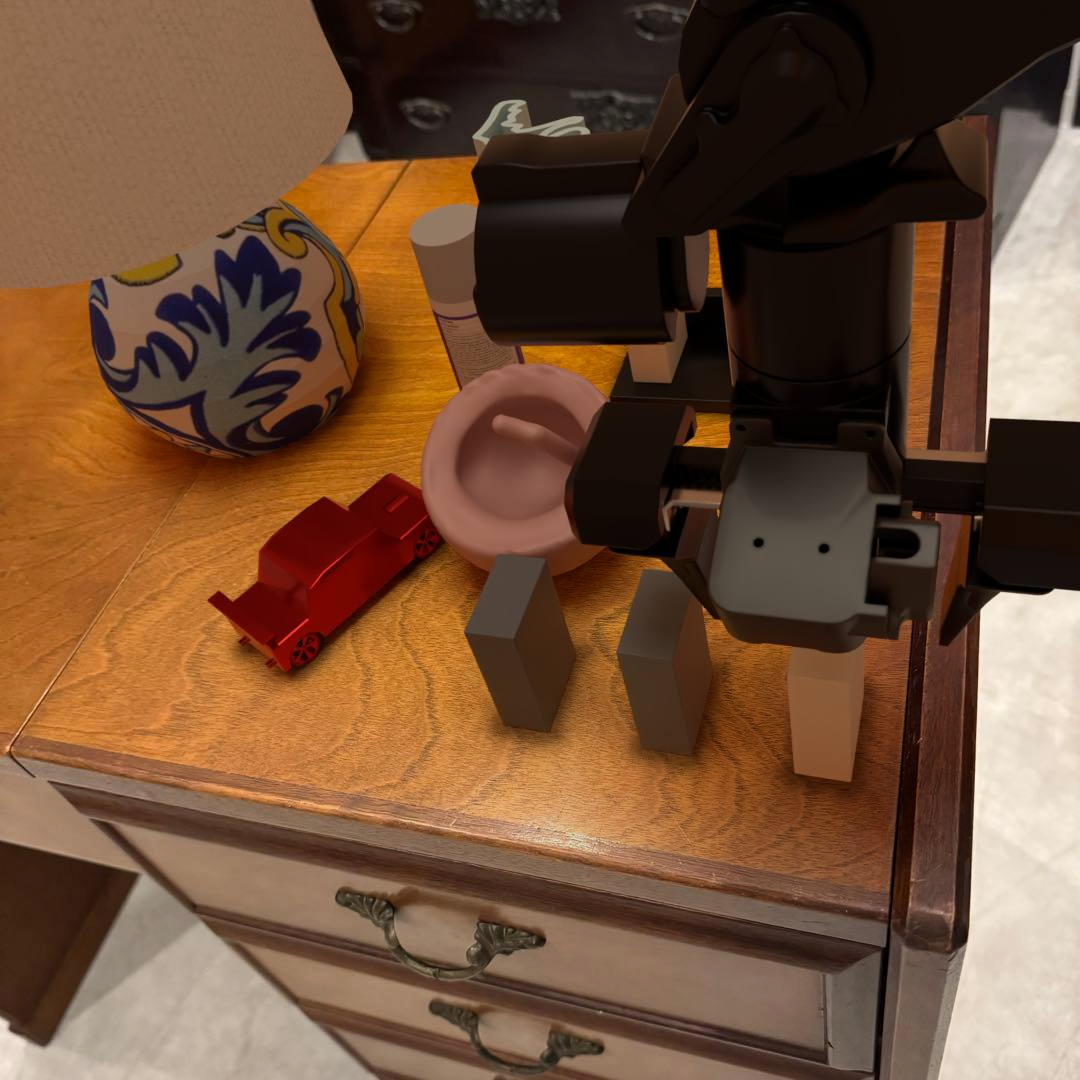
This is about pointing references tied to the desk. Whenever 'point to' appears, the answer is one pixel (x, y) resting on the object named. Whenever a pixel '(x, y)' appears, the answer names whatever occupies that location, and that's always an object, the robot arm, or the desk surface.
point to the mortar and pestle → (509, 465)
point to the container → (456, 291)
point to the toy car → (328, 568)
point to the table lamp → (183, 207)
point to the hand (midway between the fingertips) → (828, 624)
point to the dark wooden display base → (690, 366)
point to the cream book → (825, 710)
